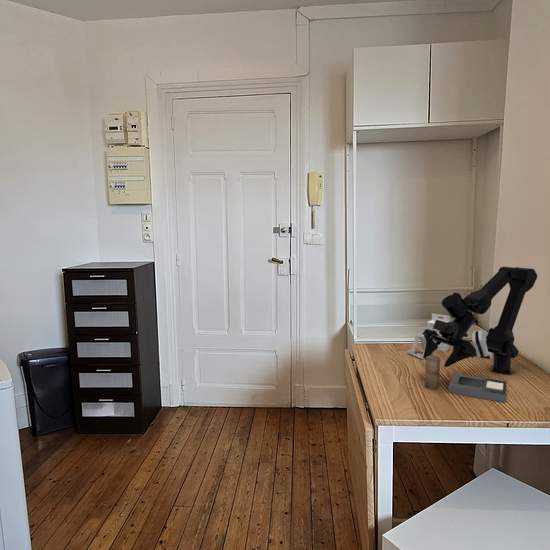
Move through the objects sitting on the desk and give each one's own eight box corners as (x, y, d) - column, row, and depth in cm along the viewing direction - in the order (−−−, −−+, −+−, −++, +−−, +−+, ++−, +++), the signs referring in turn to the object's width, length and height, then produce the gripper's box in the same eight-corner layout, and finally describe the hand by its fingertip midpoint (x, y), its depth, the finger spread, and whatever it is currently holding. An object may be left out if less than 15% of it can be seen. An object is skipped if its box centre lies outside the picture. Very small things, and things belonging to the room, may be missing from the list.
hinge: (491, 359, 165) (483, 335, 165) (479, 361, 167) (470, 337, 168) (492, 347, 180) (485, 325, 180) (481, 349, 182) (473, 328, 182)
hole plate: (453, 380, 145) (453, 372, 144) (506, 388, 136) (506, 380, 136) (448, 392, 134) (448, 384, 134) (504, 402, 126) (505, 393, 126)
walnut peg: (426, 383, 142) (427, 355, 141) (440, 385, 140) (441, 357, 139) (423, 387, 138) (424, 358, 137) (437, 390, 136) (438, 360, 135)
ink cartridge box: (425, 347, 181) (426, 314, 179) (430, 345, 185) (431, 312, 183) (445, 351, 175) (446, 317, 173) (449, 349, 179) (451, 315, 177)
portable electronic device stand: (407, 354, 173) (407, 334, 172) (421, 351, 176) (422, 332, 175) (422, 360, 165) (423, 340, 164) (437, 357, 169) (437, 337, 168)
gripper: (427, 306, 147) (402, 340, 144) (471, 317, 130) (444, 356, 127) (443, 325, 151) (418, 359, 148) (488, 338, 134) (461, 376, 131)
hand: (434, 362), depth 138 cm, fingers open, 9 cm apart
